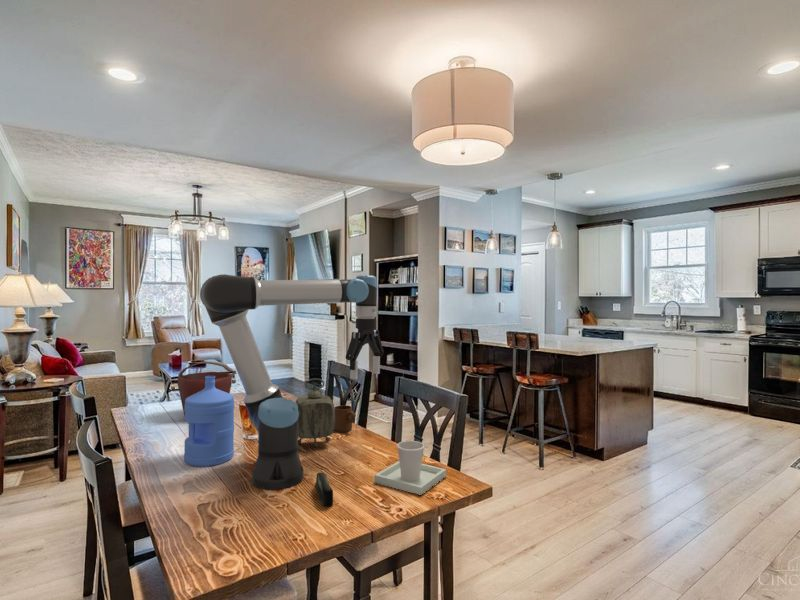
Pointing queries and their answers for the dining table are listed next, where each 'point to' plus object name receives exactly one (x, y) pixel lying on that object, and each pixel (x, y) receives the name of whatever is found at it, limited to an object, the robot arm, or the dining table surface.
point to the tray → (426, 481)
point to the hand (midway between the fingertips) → (365, 376)
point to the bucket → (203, 381)
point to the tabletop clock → (315, 415)
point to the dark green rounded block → (324, 489)
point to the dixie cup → (410, 459)
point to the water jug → (209, 426)
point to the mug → (343, 418)
